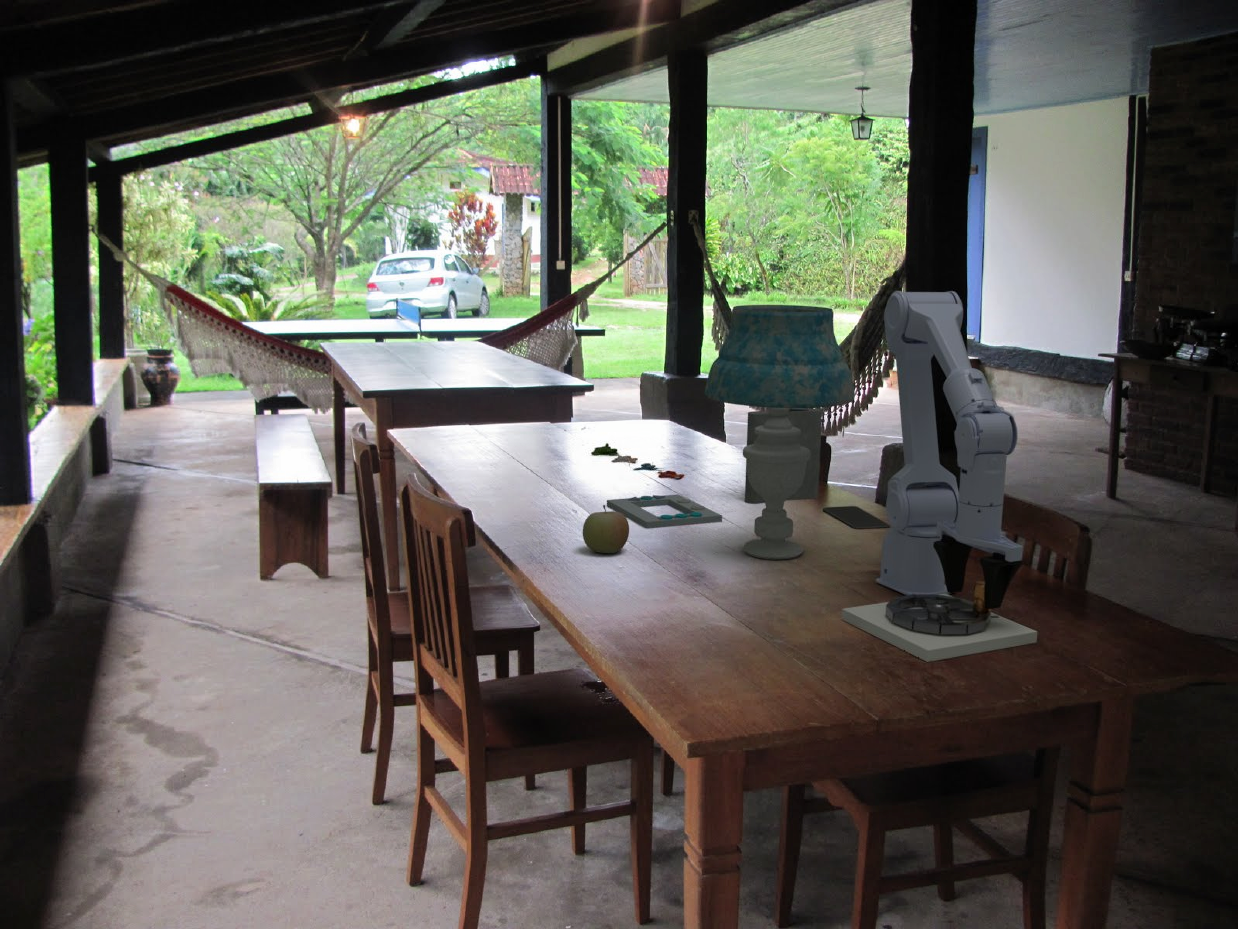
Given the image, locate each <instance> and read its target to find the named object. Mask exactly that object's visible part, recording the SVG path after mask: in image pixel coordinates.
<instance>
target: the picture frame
mask: <svg viewBox="0 0 1238 929" xmlns="http://www.w3.org/2000/svg"><path fill="white" fill-rule="evenodd" d="M663 506H664V507H665V506H668V507H671V508H672V509H675V510H676V511H678V512H680V513H675V514H673V515H672V514H662V515H660V516H657V515H655V514H653V513H651V512H650V511H647V510H646V509H644V508H653V507H663ZM606 507H607V508H609V509H611V510H613V511H615V512H619V513H622V514H623V515H624V516H625V517H626V518H627V520H628V519H629V521H632V522H634V523H636V524H637V525H639V526H641V527H643V528H644V529H645V530H647V529H648V530H651V529H658V528H669V527H670V528H671V527H680V526H691V525H692V526H693V525H702V524H711V523H712V524H715V523H722V522H723V515H722V514H721V513H718V512H716V511H713V510H711V509H709V508H707V507H705V506H704V505H702V504H699V503H697V502H695V501H693V500H691V499H689V498H687V497H685V496H682V495H680V494H679V493H678V494H669V495H667V494H666V495H659V494H658V495H657V494H655V495H654V494H653V495H652V496H651V495H641V496H640V497H638V496H633V497H627V498H617V499H616V498H614V499H606Z"/></svg>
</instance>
